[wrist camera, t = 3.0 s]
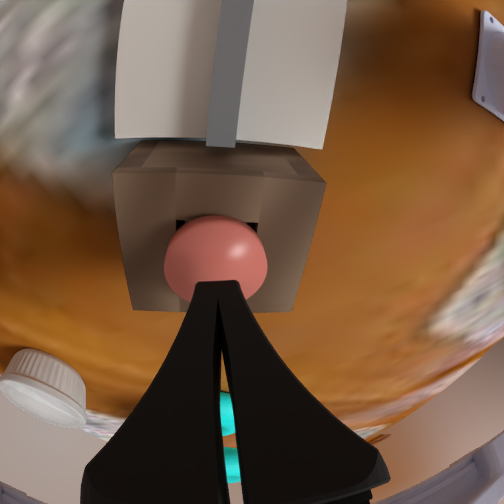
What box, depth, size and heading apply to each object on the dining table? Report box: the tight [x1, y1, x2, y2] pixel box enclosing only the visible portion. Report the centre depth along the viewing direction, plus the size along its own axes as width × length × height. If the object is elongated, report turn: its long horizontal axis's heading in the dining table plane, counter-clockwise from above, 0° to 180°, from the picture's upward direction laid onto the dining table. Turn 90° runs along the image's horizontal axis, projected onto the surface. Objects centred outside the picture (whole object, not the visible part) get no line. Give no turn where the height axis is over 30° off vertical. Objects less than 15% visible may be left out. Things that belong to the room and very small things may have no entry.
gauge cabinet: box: [112, 140, 326, 313], centre depth 14 cm, size 8×7×5 cm
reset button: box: [164, 215, 267, 302], centre depth 13 cm, size 4×4×5 cm
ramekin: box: [0, 348, 87, 428], centre depth 23 cm, size 11×11×5 cm
